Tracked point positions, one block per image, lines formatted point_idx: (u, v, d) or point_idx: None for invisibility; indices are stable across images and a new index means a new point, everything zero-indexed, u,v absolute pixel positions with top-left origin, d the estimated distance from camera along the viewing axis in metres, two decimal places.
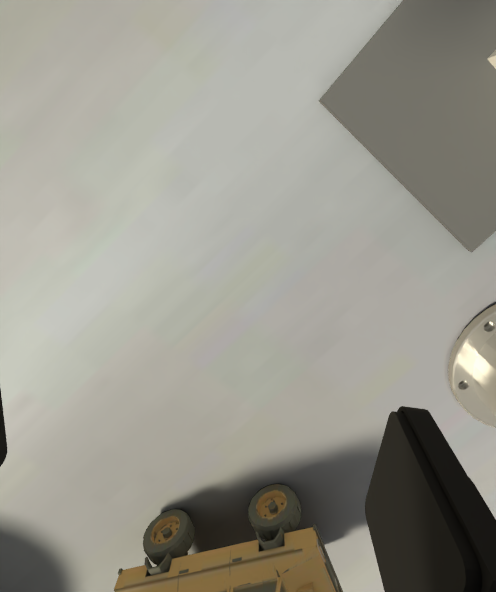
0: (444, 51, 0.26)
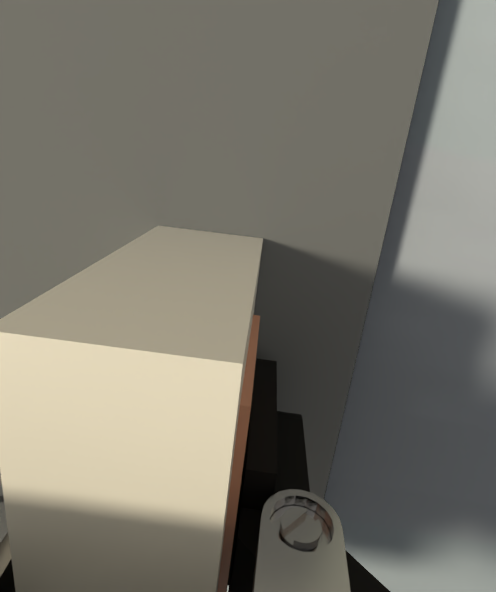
0: (94, 108, 0.09)
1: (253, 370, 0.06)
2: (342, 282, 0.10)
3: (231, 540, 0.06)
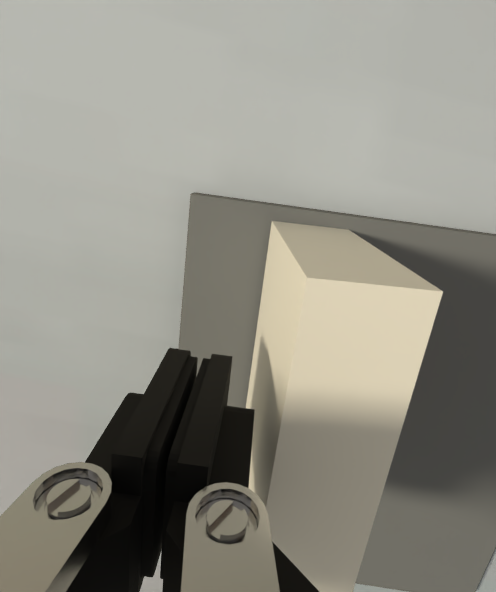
0: None
1: None
2: None
3: None
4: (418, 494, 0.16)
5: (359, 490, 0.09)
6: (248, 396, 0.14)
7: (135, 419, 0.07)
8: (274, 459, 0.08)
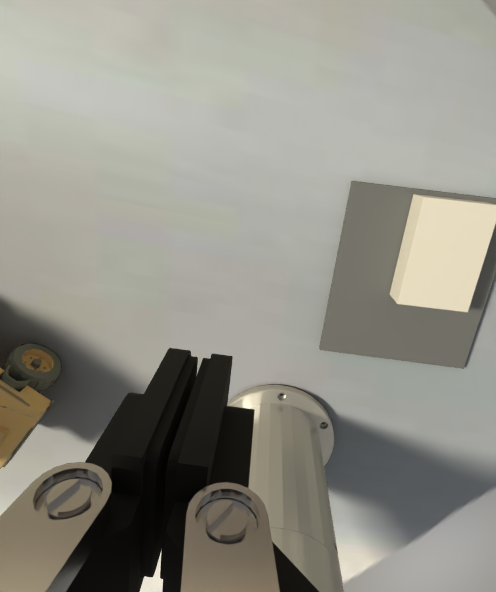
0: None
1: None
2: (484, 282, 0.36)
3: None
4: (439, 311, 0.37)
5: None
6: (408, 274, 0.33)
7: (135, 419, 0.07)
8: (485, 255, 0.32)
